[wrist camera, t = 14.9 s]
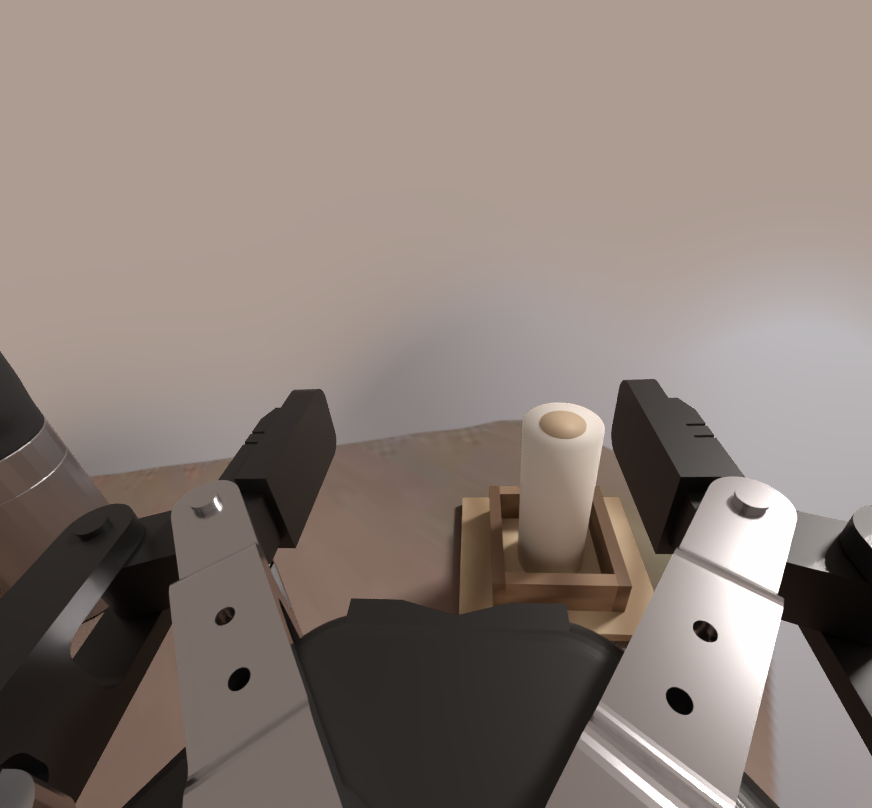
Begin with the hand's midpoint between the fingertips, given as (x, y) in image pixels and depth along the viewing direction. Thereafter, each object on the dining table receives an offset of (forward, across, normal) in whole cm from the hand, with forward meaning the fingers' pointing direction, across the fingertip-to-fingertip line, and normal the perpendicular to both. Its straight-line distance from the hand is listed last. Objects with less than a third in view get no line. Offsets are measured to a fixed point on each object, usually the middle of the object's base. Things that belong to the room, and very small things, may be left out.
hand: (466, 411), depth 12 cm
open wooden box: (+15, -6, +28) cm, 32 cm away
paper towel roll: (+15, -6, +27) cm, 31 cm away
